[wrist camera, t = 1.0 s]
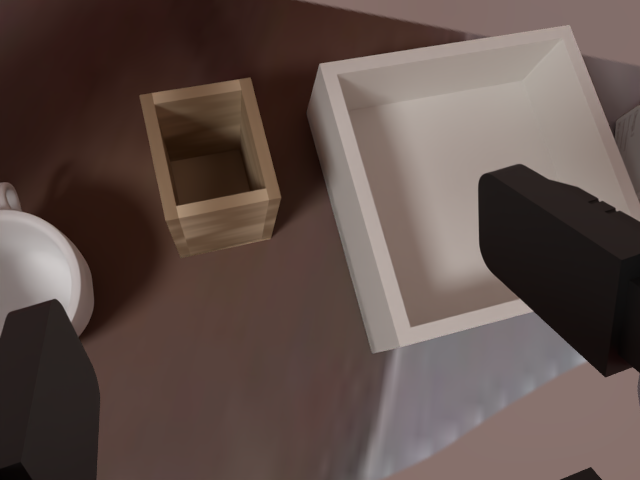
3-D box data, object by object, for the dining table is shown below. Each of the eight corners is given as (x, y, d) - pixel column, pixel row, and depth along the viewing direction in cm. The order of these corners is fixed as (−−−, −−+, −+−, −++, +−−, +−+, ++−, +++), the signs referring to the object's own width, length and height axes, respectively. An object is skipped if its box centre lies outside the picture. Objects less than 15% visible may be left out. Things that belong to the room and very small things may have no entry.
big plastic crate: (372, 353, 34) (400, 347, 28) (306, 113, 37) (319, 63, 32) (600, 292, 37) (667, 275, 32) (521, 75, 41) (569, 24, 35)
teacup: (113, 361, 32) (90, 356, 27) (-36, 388, 31) (-90, 388, 25) (95, 193, 34) (71, 159, 29) (-45, 211, 33) (-97, 178, 28)
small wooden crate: (180, 258, 34) (165, 220, 26) (159, 158, 35) (139, 95, 28) (270, 238, 35) (281, 197, 27) (246, 142, 36) (250, 77, 29)
